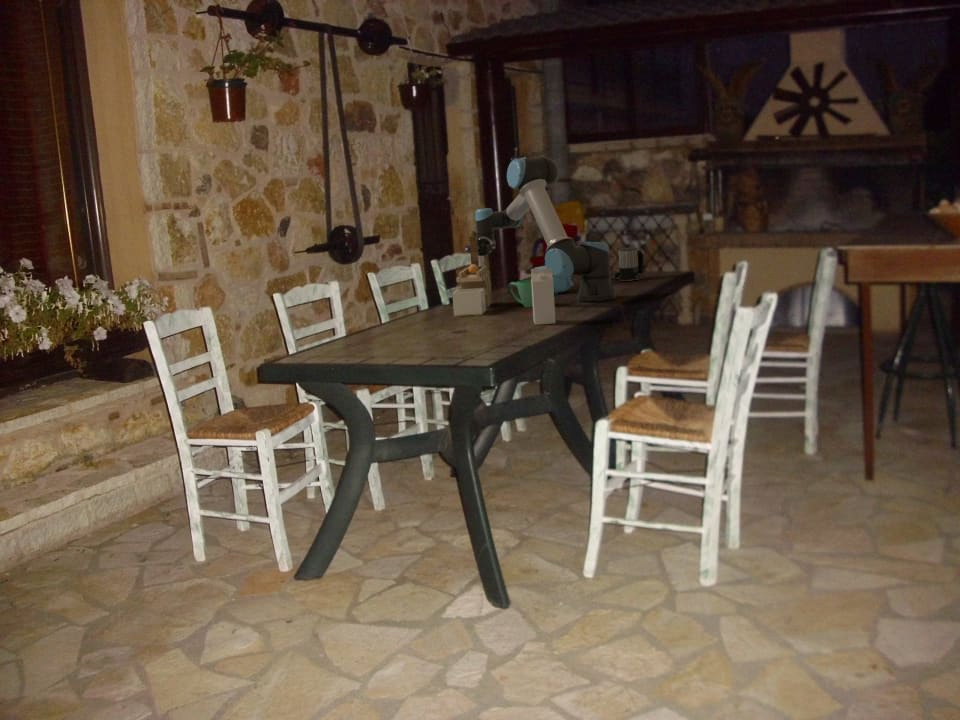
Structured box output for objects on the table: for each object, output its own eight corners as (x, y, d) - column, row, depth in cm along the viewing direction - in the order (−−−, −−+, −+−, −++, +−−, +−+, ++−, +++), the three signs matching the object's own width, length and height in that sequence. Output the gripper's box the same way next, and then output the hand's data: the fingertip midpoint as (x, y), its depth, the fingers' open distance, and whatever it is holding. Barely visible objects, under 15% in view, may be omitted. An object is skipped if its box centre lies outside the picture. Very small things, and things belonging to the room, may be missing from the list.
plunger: (469, 271, 390) (466, 230, 386) (482, 271, 389) (479, 230, 386) (468, 273, 385) (465, 231, 382) (481, 272, 384) (478, 230, 381)
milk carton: (533, 322, 338) (530, 268, 334) (553, 320, 338) (550, 266, 334) (535, 325, 331) (531, 270, 327) (555, 323, 331) (552, 268, 327)
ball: (480, 273, 381) (479, 263, 381) (472, 275, 379) (471, 265, 379) (475, 273, 385) (474, 263, 384) (466, 274, 383) (466, 264, 382)
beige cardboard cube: (458, 312, 376) (457, 289, 374) (485, 310, 374) (484, 287, 372) (454, 316, 365) (452, 293, 363) (482, 315, 363) (480, 291, 362)
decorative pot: (536, 297, 405) (535, 264, 402) (530, 292, 420) (528, 261, 418) (574, 293, 406) (573, 261, 403) (567, 289, 422) (565, 258, 419)
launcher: (467, 304, 395) (464, 267, 392) (491, 303, 394) (488, 265, 391) (458, 312, 374) (455, 273, 371) (484, 311, 372) (481, 271, 369)
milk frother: (634, 282, 430) (633, 249, 427) (602, 282, 438) (601, 249, 436) (646, 278, 442) (645, 245, 439) (614, 278, 450) (613, 246, 447)
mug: (547, 304, 378) (546, 279, 376) (534, 308, 370) (532, 282, 369) (517, 303, 387) (515, 279, 385) (503, 307, 379) (501, 282, 377)
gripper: (498, 254, 410) (491, 259, 387) (468, 256, 412) (459, 261, 389) (497, 236, 409) (489, 241, 386) (467, 238, 411) (458, 243, 388)
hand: (474, 251), depth 388 cm, fingers closed
